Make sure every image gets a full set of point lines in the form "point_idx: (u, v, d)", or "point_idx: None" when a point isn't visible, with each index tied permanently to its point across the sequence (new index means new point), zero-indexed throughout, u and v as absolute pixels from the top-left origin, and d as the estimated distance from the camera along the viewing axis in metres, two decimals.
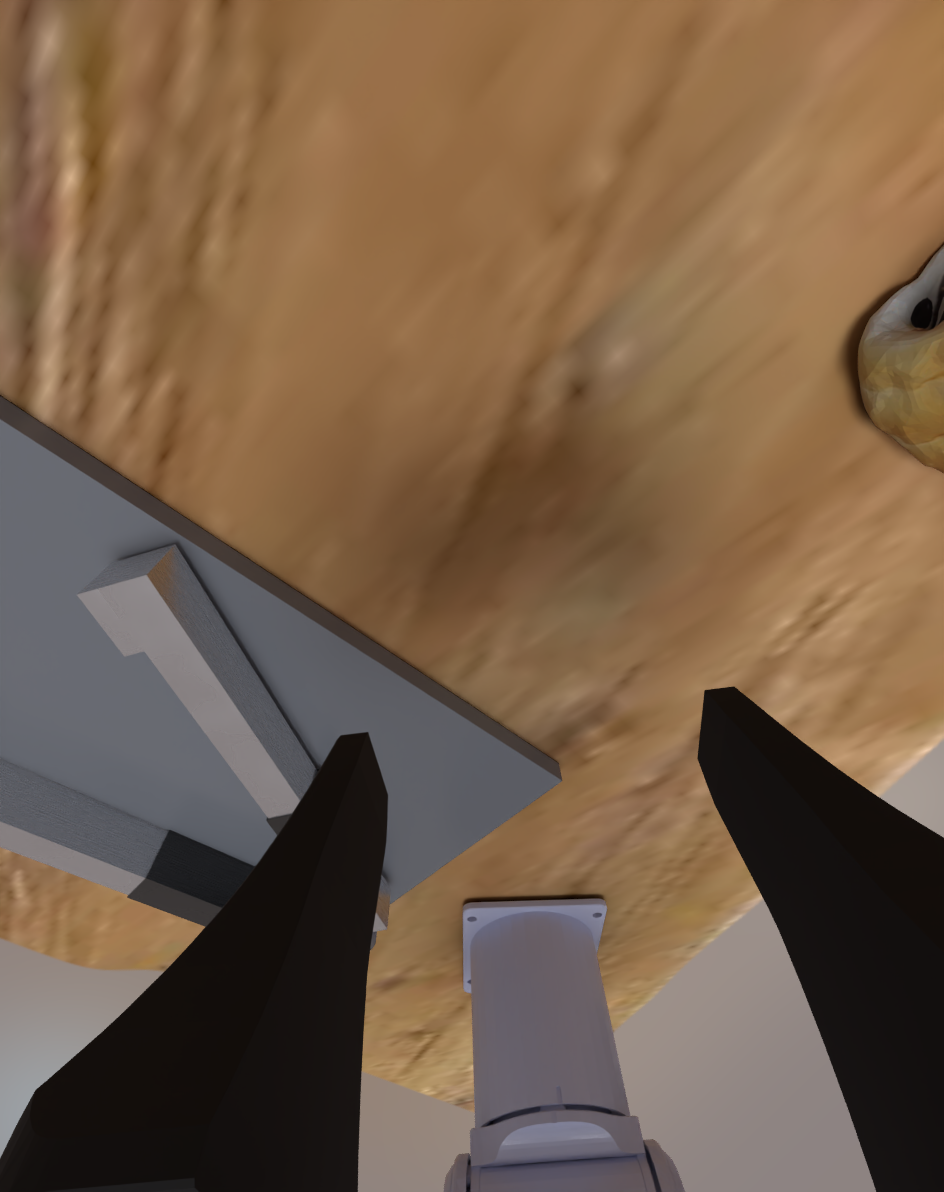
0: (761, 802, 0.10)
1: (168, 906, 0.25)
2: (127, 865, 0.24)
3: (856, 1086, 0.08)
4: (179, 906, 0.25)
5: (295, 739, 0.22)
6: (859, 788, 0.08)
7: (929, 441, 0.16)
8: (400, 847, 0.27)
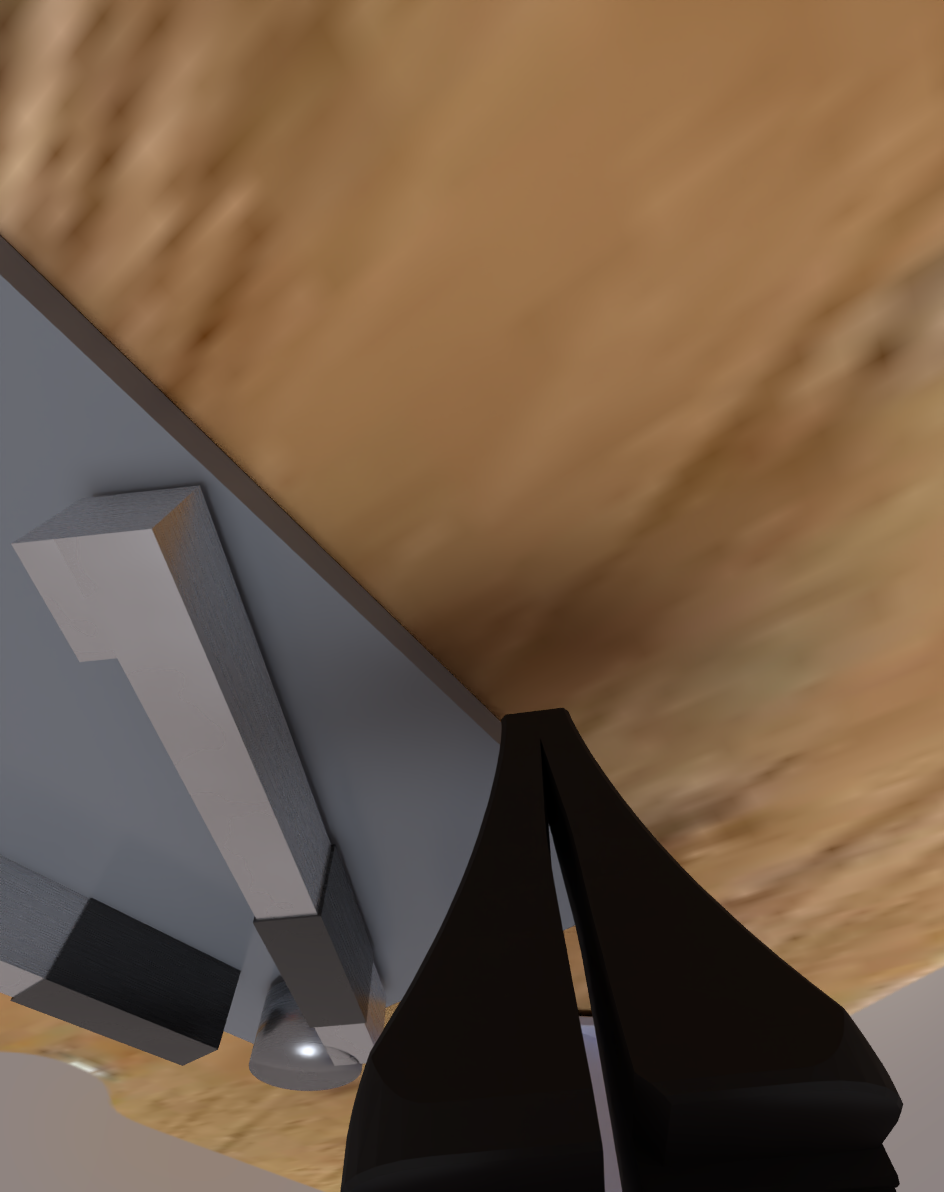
0: (560, 825, 0.10)
1: (72, 1015, 0.17)
2: (19, 957, 0.16)
3: (610, 1109, 0.08)
4: (89, 1016, 0.17)
5: (313, 802, 0.15)
6: (626, 816, 0.09)
7: None
8: (413, 948, 0.20)
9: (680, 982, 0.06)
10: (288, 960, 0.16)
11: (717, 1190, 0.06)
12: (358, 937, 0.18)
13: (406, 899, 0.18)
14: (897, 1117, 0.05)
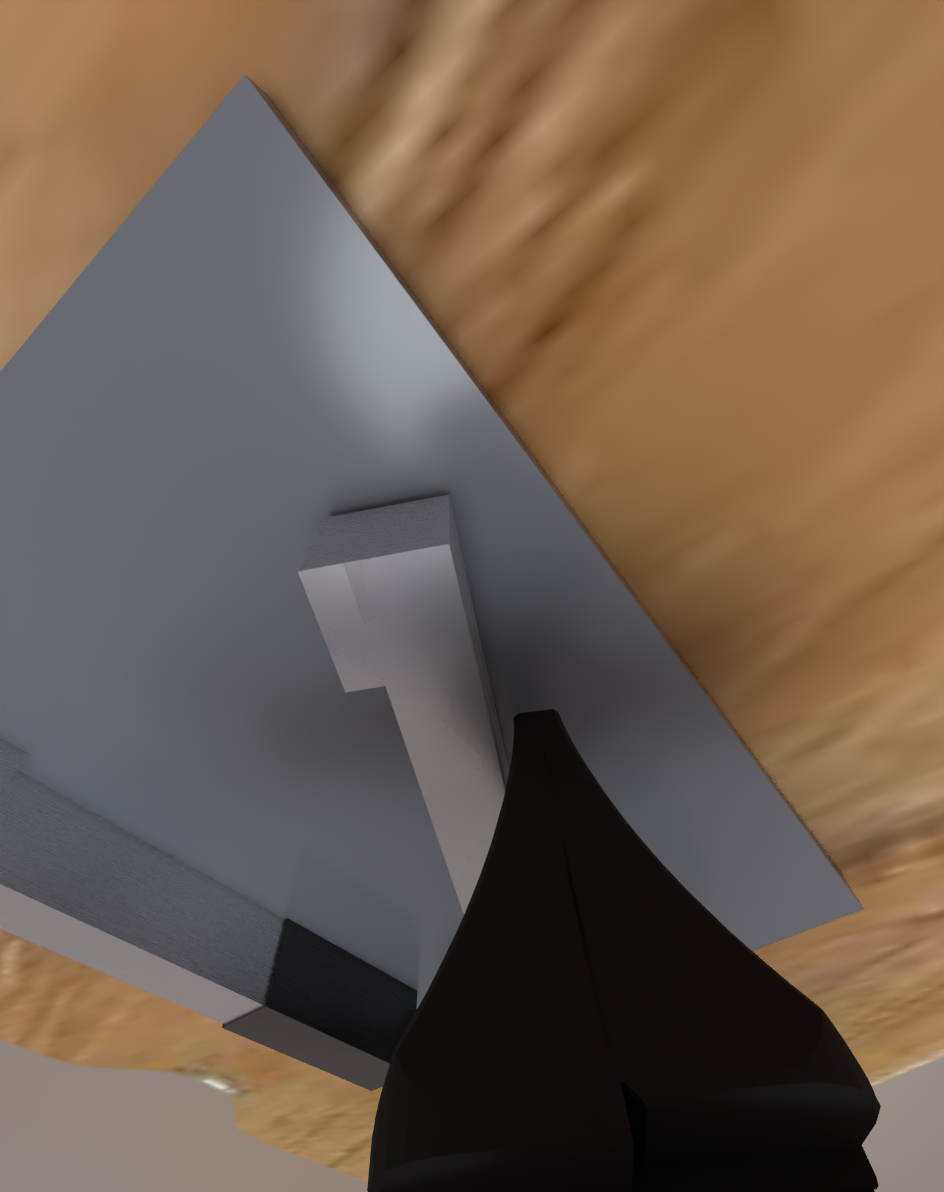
0: None
1: (279, 1042, 0.16)
2: (240, 984, 0.15)
3: None
4: (294, 1042, 0.16)
5: None
6: (612, 817, 0.09)
7: None
8: None
9: (660, 984, 0.06)
10: None
11: None
12: None
13: None
14: (875, 1119, 0.05)
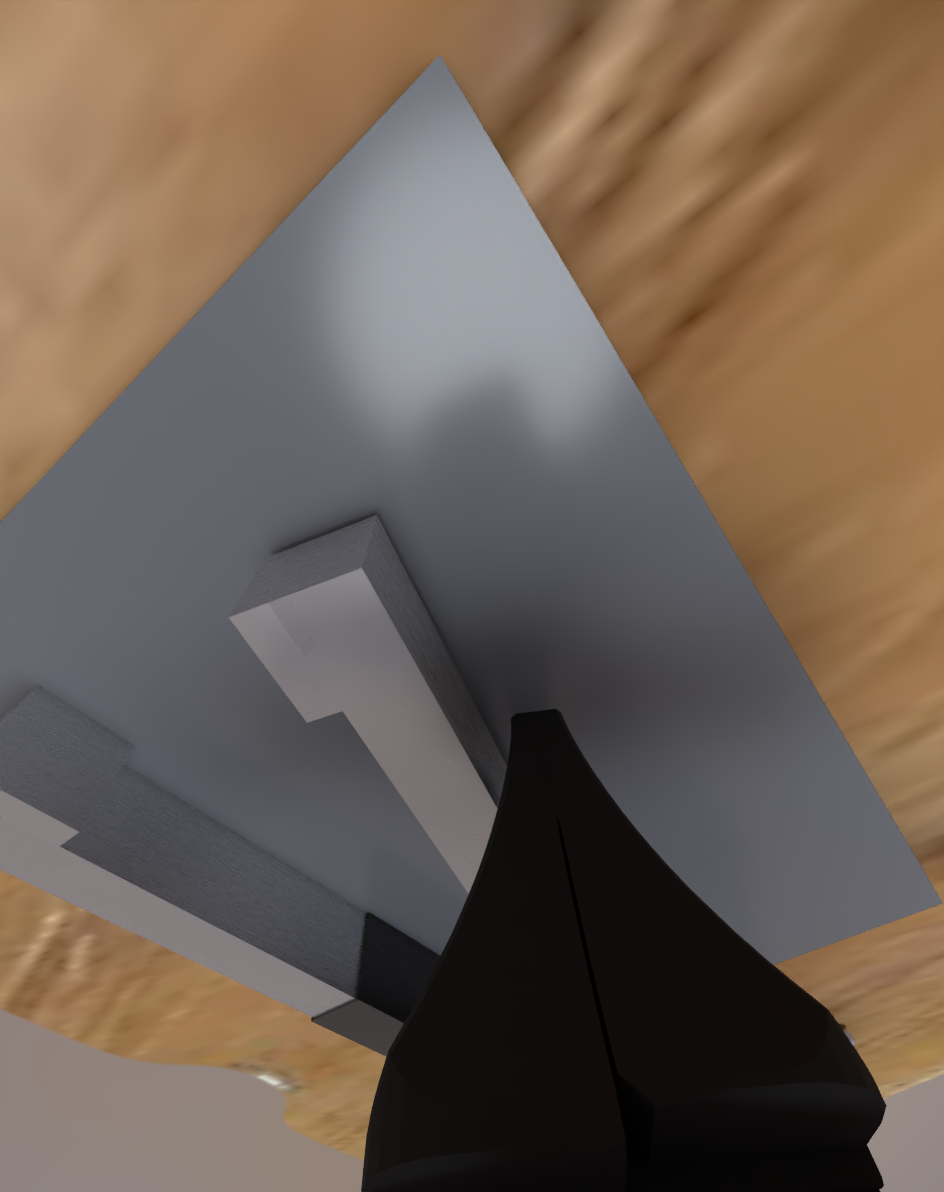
0: None
1: (365, 1036, 0.16)
2: (333, 977, 0.15)
3: None
4: (380, 1036, 0.16)
5: None
6: (616, 816, 0.09)
7: None
8: None
9: (665, 983, 0.06)
10: None
11: None
12: None
13: None
14: (880, 1119, 0.05)
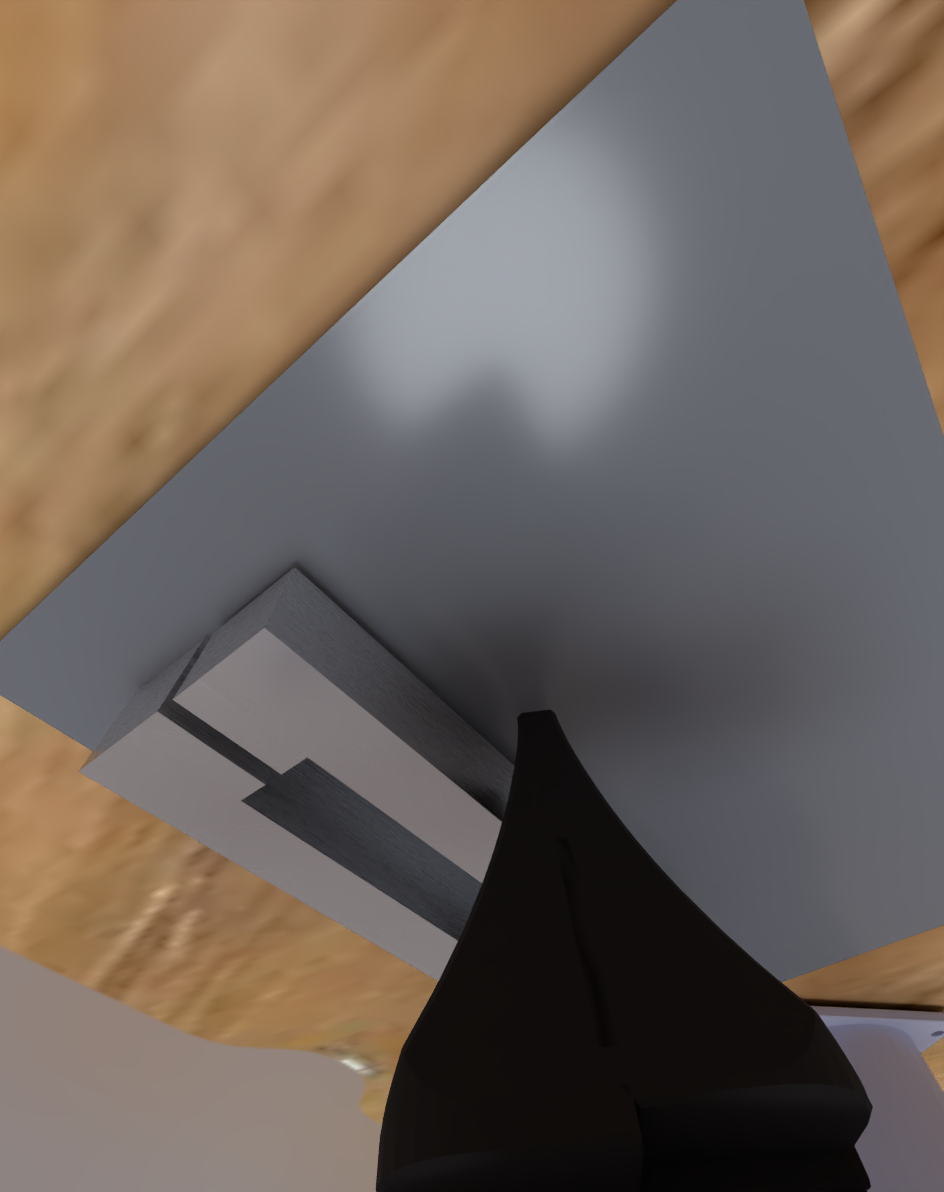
0: None
1: None
2: None
3: None
4: None
5: None
6: (608, 817, 0.09)
7: None
8: (796, 937, 0.19)
9: (654, 985, 0.06)
10: None
11: None
12: None
13: (823, 884, 0.17)
14: (867, 1120, 0.05)
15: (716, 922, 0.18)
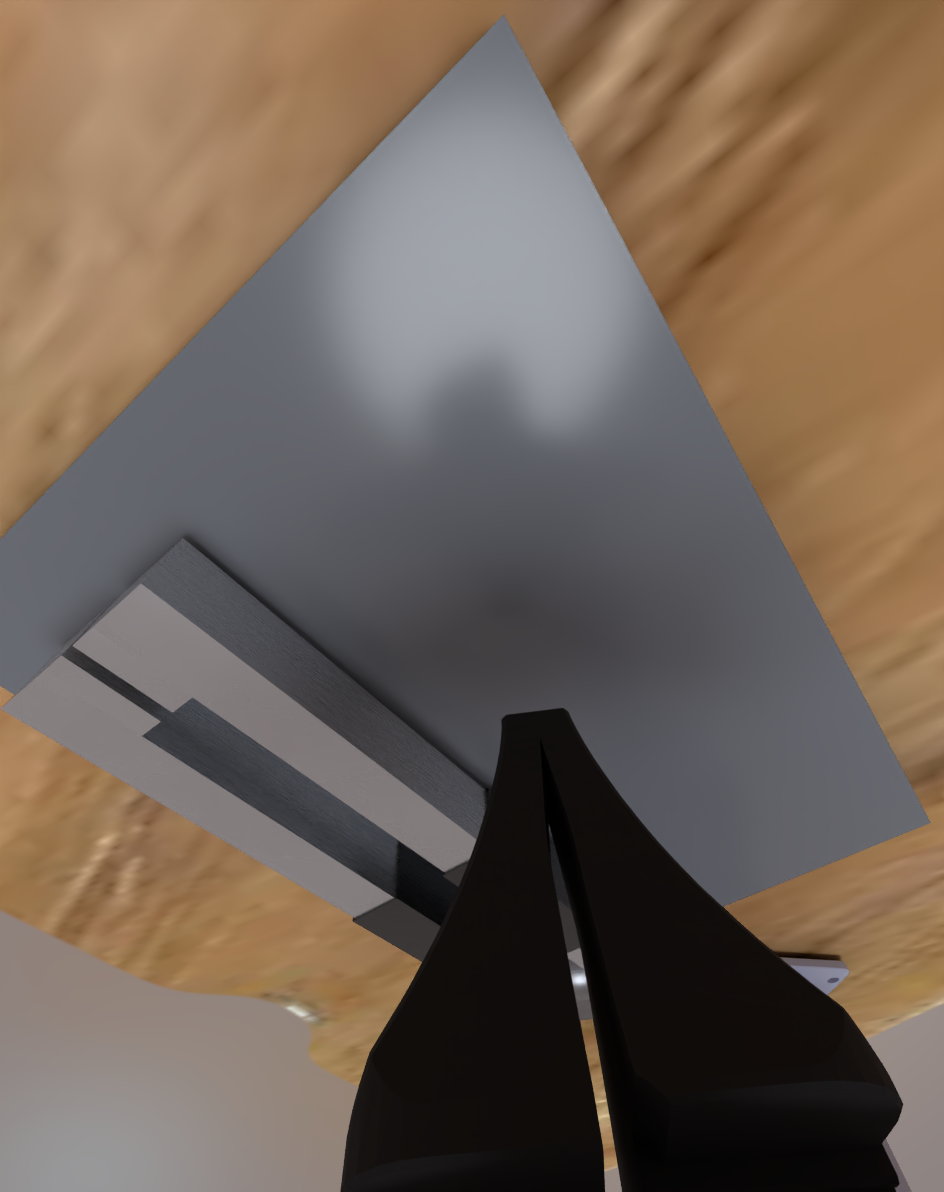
0: (560, 825, 0.10)
1: (401, 938, 0.18)
2: (374, 877, 0.16)
3: (610, 1109, 0.08)
4: (414, 938, 0.18)
5: (443, 757, 0.16)
6: (626, 815, 0.09)
7: None
8: None
9: (679, 982, 0.06)
10: None
11: (717, 1190, 0.06)
12: None
13: (695, 830, 0.19)
14: (897, 1117, 0.05)
15: None
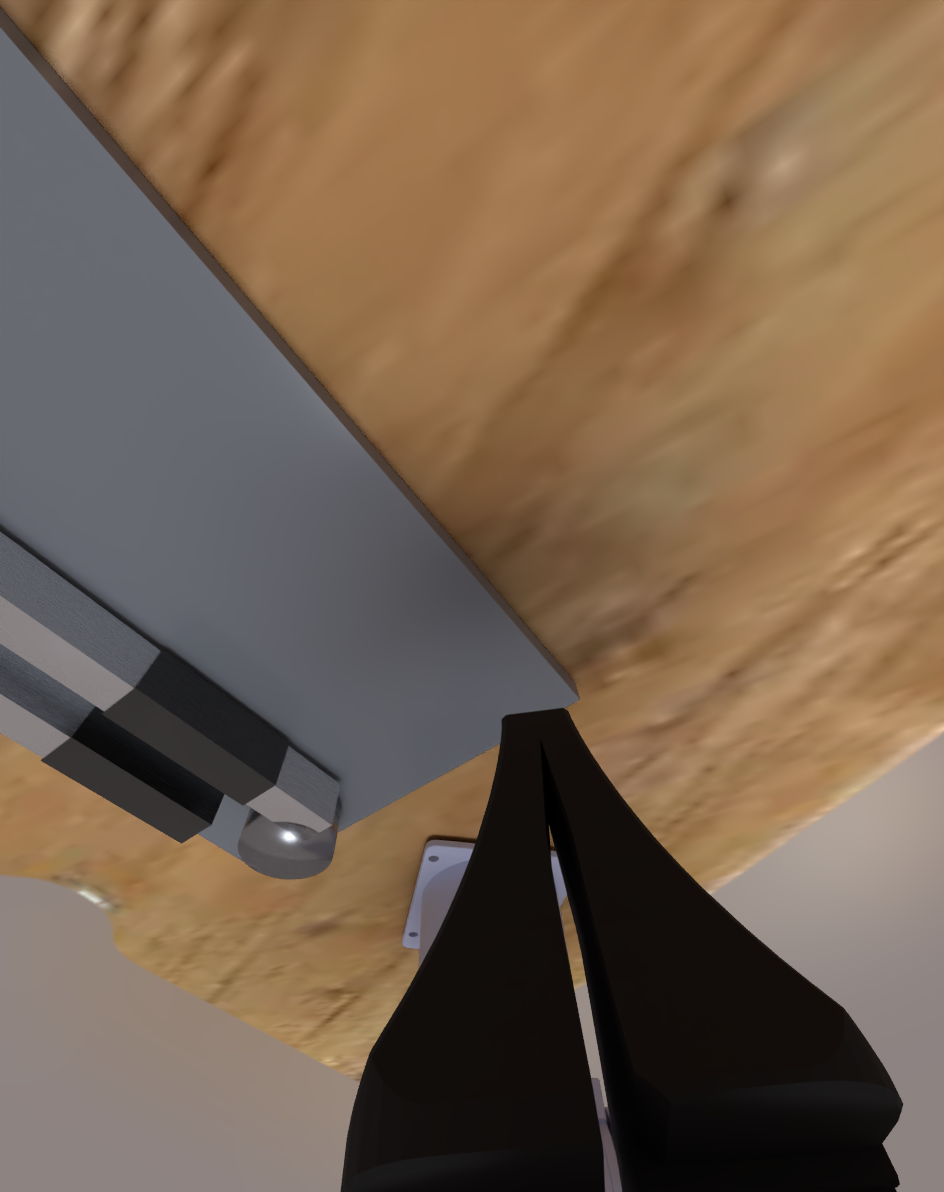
0: (560, 825, 0.10)
1: (91, 780, 0.20)
2: (50, 718, 0.19)
3: (611, 1109, 0.08)
4: (104, 782, 0.20)
5: (108, 615, 0.19)
6: (626, 815, 0.09)
7: None
8: (378, 756, 0.23)
9: (680, 982, 0.06)
10: (159, 741, 0.19)
11: (717, 1190, 0.06)
12: (241, 723, 0.21)
13: (372, 701, 0.22)
14: (897, 1117, 0.05)
15: (304, 737, 0.23)
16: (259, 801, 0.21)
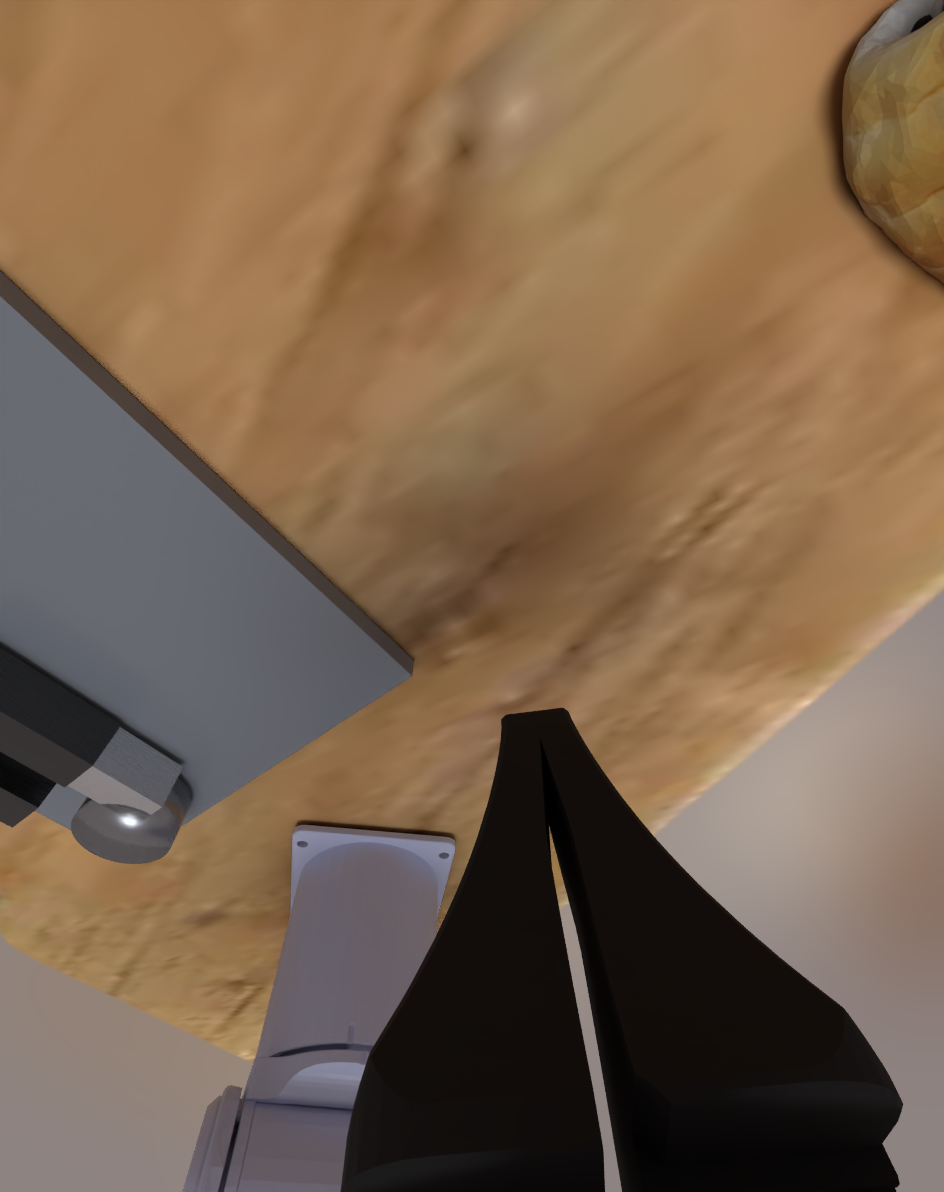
0: (560, 825, 0.10)
1: None
2: None
3: (611, 1109, 0.08)
4: None
5: None
6: (626, 815, 0.09)
7: (919, 205, 0.14)
8: (218, 737, 0.23)
9: (680, 982, 0.06)
10: None
11: (717, 1190, 0.06)
12: (60, 703, 0.21)
13: (199, 680, 0.22)
14: (897, 1117, 0.05)
15: (138, 719, 0.22)
16: (81, 782, 0.21)
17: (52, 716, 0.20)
